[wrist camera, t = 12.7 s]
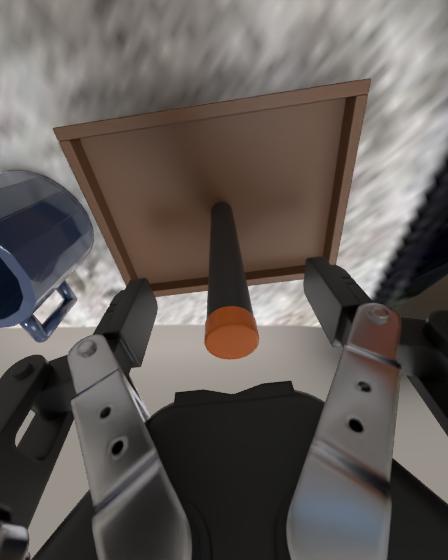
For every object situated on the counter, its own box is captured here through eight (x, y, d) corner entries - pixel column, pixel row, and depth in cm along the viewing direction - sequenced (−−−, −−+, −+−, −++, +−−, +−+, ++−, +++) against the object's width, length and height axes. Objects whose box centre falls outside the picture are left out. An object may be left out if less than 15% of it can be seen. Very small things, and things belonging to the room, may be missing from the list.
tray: (67, 127, 17) (51, 128, 16) (355, 82, 16) (371, 78, 15) (137, 288, 26) (132, 299, 25) (326, 265, 25) (333, 275, 24)
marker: (208, 202, 20) (199, 327, 8) (232, 199, 20) (258, 320, 8) (212, 225, 22) (209, 362, 9) (234, 222, 21) (260, 357, 9)
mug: (-43, 178, 19) (-207, 214, 12) (62, 162, 19) (-38, 189, 11) (45, 295, 26) (-21, 363, 19) (122, 285, 26) (85, 351, 18)
